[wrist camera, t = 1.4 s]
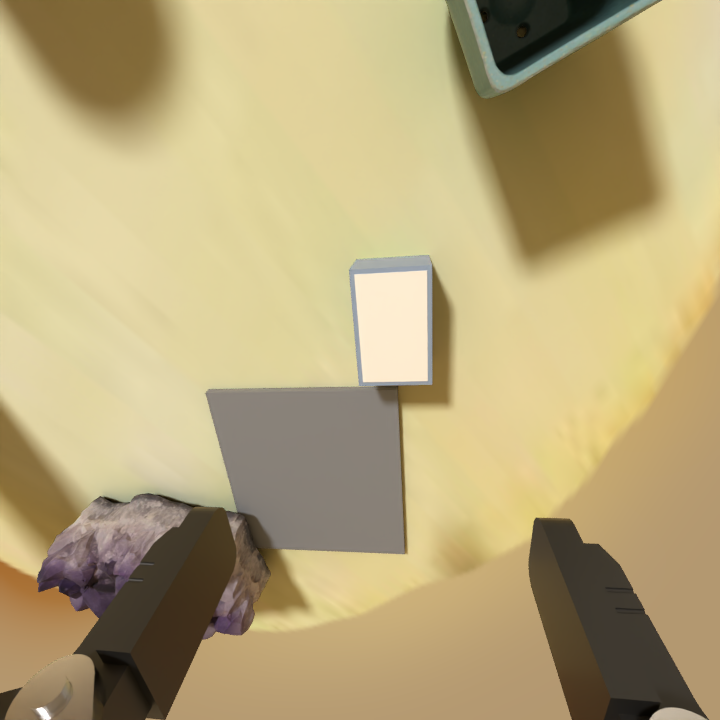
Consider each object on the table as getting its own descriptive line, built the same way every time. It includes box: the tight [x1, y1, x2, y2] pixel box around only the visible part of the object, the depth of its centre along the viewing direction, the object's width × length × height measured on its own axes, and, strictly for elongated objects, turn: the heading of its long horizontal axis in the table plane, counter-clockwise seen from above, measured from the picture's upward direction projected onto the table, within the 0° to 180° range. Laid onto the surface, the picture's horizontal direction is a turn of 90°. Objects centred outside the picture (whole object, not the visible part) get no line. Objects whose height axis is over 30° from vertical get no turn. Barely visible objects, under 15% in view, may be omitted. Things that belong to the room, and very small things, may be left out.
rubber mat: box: [206, 386, 405, 554], centre depth 35 cm, size 16×18×1 cm
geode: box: [37, 493, 271, 640], centre depth 36 cm, size 20×12×10 cm, turn 87°
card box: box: [349, 255, 432, 386], centre depth 27 cm, size 5×8×4 cm, turn 4°
